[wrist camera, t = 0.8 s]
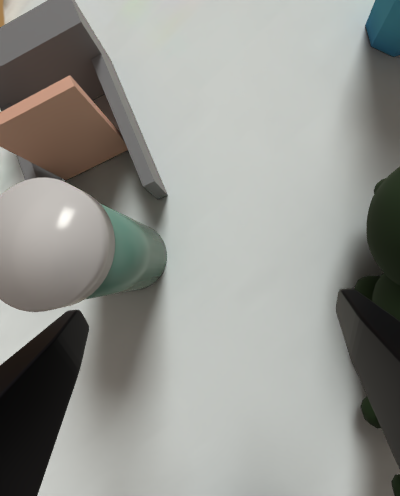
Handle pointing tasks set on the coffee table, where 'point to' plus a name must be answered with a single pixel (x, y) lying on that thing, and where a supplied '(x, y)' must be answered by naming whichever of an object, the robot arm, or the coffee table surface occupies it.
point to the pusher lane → (62, 65)
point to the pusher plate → (60, 130)
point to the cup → (385, 26)
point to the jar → (70, 247)
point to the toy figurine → (384, 264)
